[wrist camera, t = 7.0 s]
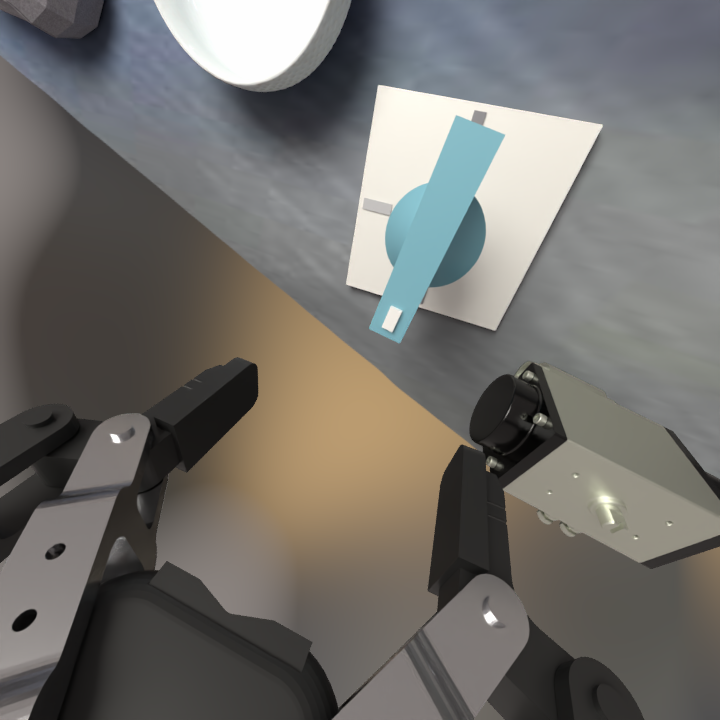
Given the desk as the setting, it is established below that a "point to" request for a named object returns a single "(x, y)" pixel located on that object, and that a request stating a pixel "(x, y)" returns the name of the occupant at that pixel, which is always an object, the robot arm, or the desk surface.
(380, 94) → the base plate
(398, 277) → the blue switch lever
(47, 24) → the small grey backpack
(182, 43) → the cereal bowl
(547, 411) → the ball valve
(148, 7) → the desk surface
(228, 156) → the desk surface
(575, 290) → the desk surface
